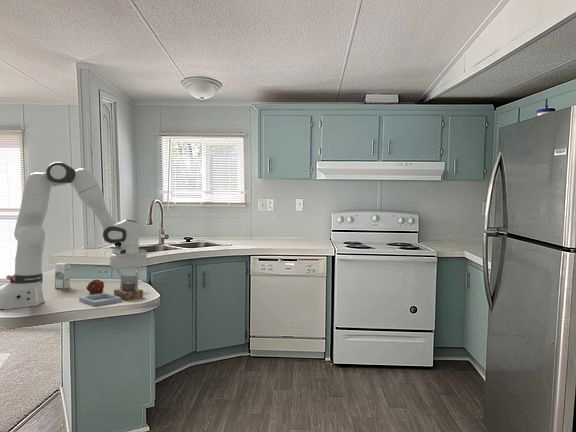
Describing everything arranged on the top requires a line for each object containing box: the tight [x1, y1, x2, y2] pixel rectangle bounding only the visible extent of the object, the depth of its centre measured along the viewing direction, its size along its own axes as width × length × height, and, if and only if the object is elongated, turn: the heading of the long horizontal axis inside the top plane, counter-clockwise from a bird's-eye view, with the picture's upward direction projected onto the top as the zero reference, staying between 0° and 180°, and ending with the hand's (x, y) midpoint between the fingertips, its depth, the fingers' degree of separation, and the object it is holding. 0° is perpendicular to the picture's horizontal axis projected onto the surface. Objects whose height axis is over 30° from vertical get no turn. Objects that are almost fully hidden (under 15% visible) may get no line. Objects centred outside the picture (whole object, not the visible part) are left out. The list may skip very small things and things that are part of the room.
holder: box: [113, 288, 144, 301], centre depth 218 cm, size 10×10×4 cm
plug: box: [122, 282, 135, 292], centre depth 218 cm, size 4×4×8 cm
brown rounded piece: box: [85, 278, 105, 295], centre depth 223 cm, size 8×8×12 cm
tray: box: [78, 292, 122, 307], centre depth 207 cm, size 14×14×2 cm
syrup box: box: [54, 261, 71, 290], centre depth 233 cm, size 6×6×14 cm
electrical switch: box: [119, 275, 139, 289], centre depth 233 cm, size 9×5×9 cm, turn 102°
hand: (128, 275), depth 217 cm, fingers open, 8 cm apart
